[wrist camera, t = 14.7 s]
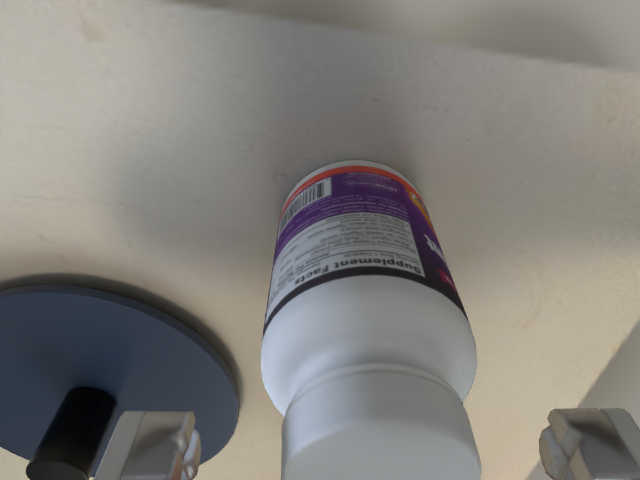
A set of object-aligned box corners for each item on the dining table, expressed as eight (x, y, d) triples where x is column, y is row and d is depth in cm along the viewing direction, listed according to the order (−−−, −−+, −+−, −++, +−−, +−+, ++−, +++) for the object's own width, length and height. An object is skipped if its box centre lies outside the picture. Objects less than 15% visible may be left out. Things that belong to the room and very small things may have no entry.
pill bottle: (420, 276, 19) (496, 544, 11) (287, 281, 19) (262, 549, 11) (431, 150, 16) (549, 394, 8) (272, 158, 16) (220, 404, 8)
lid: (-114, 276, 19) (-225, 366, 15) (221, 272, 19) (195, 362, 15) (16, 461, 26) (-35, 552, 23) (254, 459, 26) (243, 551, 22)
